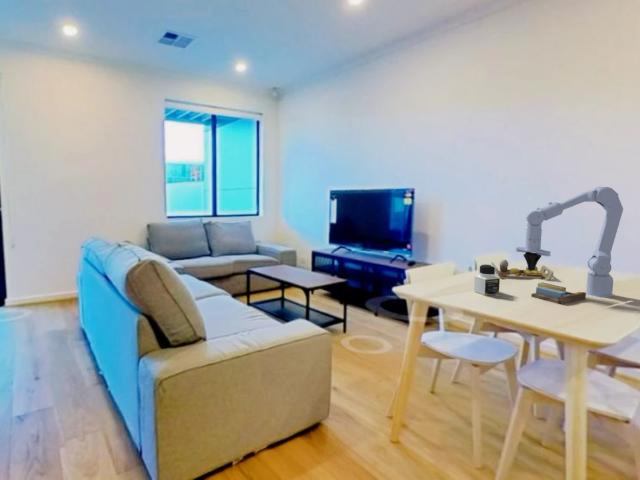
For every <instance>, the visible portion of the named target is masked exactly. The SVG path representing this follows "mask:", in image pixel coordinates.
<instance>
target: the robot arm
mask: <svg viewBox="0 0 640 480" xmlns="http://www.w3.org/2000/svg"><path fill="white" fill-rule="evenodd" d="M584 202H586V203H587V202H588V203H589V202H590V203H592V202H593V203H597V204H598V205H599V206H601V207H602V208H603V210H605V216H604V220H603V223H602V227H601V230H600V234H599V237H598V240H597V244H596V246H595V247H596V248H595V250H594V252H593V253H592V256H591V257H590V258H589V259H588V261H587V266H588V268H589V269H588V271H587V278H586V290H585V291H584V292H585V293H586V296H591V297H595V298H599V299H601V298H602V299H603V298H607V297H612V296H615V294H614V293H613V290H614V289H613V288H614V278H613V276H612V275H611V274H610V272H612V264H611V263H612V262H611V261H612V254H611V253H612V249H613V246H614V243H615V239H616V236H617V232H618V228H619V225H620V222H621V219H622V216H623V212H624V207H623V205H622V202H621V200H620V197H619V193H618V192H617V191H615V189H613V188H612V187H609V186H597V187H595V188H594V189H593V188H592V189H588V190H586V191H583V192H580V193H579V194H576V195H574V196H572V197H569V198H568V199H565V200H563V201H562V202H556V201H553V202H552V201H550V202H548V203H547V204H546V205H545V206H542V207H536V210H531V211H530V212H529V213H528V214H527V215H526V217H525V218H526V221H527V224H526V229H525V230H526V231H525V246H524V247H523V246H516V250H515V252H516V253H517V252H518V253H524V254H523V258H524V260H525V261H526V264H527V267H528V270H530V271H534V270H535V267H537V264H538V262H539V260H540V259H541V258H542V256H545V257H550V256H551V251H550V250H544V249H541V246H542V245H541V244H542V235H543V234H542V233H543V229H542V225H543V222H545V221H548V220H551V219H553V218H556V217H557V216H561V215H562V214H563V211H564V210H567V209H569V208H572V207H575V206H577V205H579V204H583V203H584Z"/></svg>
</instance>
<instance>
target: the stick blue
mask: <svg viewBox="0 0 640 480" xmlns="http://www.w3.org/2000/svg"><path fill="white" fill-rule="evenodd" d="M566 292H567V291H566ZM566 292H562V291H558V290H554V289H549V288H545V287H538V286H537V287H536V288H535V293H536V294H540V295H544V296H548V297H552V298H556V299H558V297H562V296H563V295H566Z"/></svg>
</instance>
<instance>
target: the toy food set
mask: <svg viewBox="0 0 640 480" xmlns="http://www.w3.org/2000/svg"><path fill="white" fill-rule="evenodd" d="M490 263H491V264H490V265H493V266H495V274H497V277H498V278H500V279H501V280H502V279H503V280H519V281H520V280H521V281H523V280H524V281H532V280H542V281H546V282H547V281H550V280H551V279H552V278H553V276H554V271H553V270H551V269H550V268H548V267H547V266H546V265H541V267H540V269H539V268H538V266H536V267H535V270H534V271H530V270H528V266H526V268H525V269H518V268H510V269H508V267H509V262H508V260H507V259H502V260H500V263H499V267H497V266H496V264H495V263H494V262H490ZM498 268H499V269H498ZM538 269H539V270H538ZM546 271H547V273H546Z"/></svg>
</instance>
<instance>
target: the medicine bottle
mask: <svg viewBox="0 0 640 480" xmlns="http://www.w3.org/2000/svg"><path fill="white" fill-rule="evenodd" d="M495 266H496V265H495ZM495 266H493V265H492V264H481V265H480V266H479V274H476V275H474V284H473V285H474V286H473V291H474V293H477V294H480V295H482V296H485V297H486V296H494V295H495V296H496V295H498V294H499V293H500V280H501V278H500V277H499V276H496V272H495Z"/></svg>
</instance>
